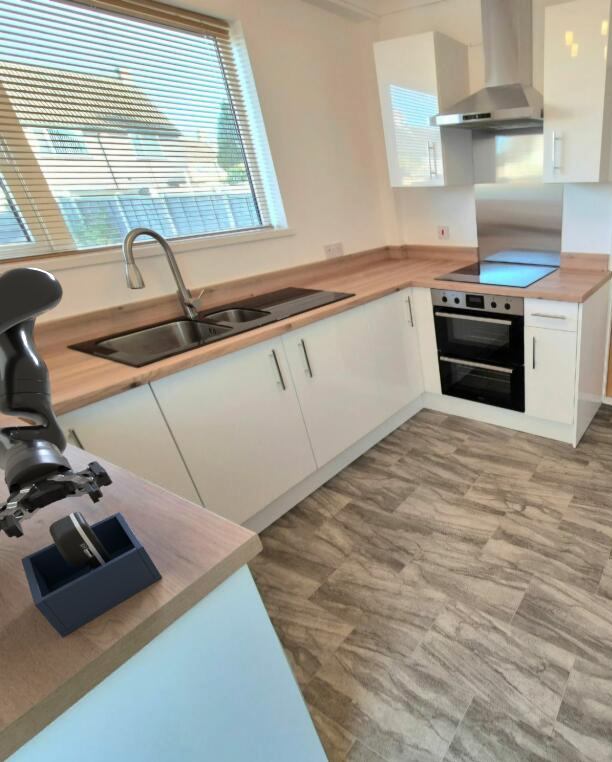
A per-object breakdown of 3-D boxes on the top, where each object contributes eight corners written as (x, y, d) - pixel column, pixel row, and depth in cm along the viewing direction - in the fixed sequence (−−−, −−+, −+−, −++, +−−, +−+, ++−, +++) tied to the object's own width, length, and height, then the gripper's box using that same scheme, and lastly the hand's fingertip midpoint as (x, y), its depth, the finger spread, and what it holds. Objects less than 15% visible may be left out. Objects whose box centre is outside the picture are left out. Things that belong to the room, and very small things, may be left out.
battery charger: (82, 576, 66) (41, 522, 61) (113, 560, 69) (76, 506, 64) (93, 600, 62) (51, 543, 57) (125, 581, 65) (87, 526, 60)
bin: (62, 637, 58) (34, 605, 55) (46, 590, 65) (20, 559, 62) (162, 577, 66) (143, 546, 63) (138, 541, 73) (120, 511, 70)
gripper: (103, 470, 79) (127, 505, 70) (-8, 516, 69) (3, 564, 60) (83, 436, 76) (105, 469, 67) (-37, 480, 66) (-30, 525, 57)
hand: (57, 514), depth 63 cm, fingers open, 8 cm apart
